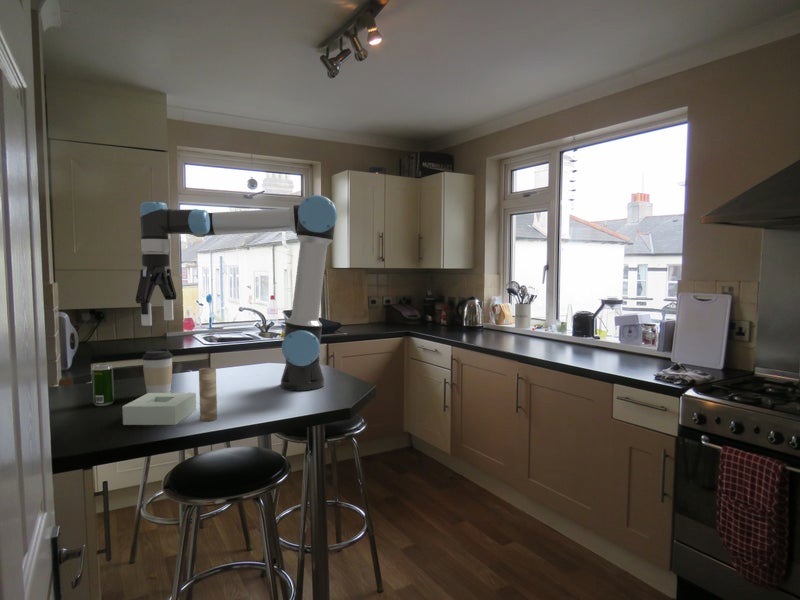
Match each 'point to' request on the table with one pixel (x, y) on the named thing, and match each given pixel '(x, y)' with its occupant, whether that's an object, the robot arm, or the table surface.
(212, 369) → the beech pin
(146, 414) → the bore block
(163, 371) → the coffee cup
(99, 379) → the beer can
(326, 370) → the table surface
